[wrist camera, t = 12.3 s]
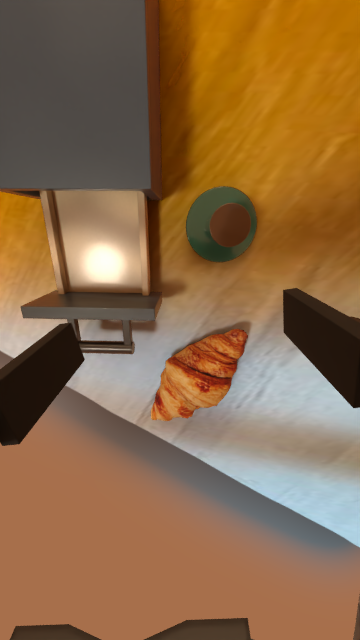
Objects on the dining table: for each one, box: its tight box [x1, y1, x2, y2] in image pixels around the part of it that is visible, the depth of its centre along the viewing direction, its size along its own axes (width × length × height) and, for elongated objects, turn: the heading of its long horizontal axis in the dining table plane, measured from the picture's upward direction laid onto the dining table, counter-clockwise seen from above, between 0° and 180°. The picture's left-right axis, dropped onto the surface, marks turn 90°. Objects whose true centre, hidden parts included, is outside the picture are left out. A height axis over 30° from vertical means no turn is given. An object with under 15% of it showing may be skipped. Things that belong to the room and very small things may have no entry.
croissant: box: [151, 329, 248, 421], centre depth 35 cm, size 21×10×8 cm, turn 142°
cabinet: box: [0, 0, 162, 200], centre depth 22 cm, size 18×15×9 cm
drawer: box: [21, 191, 162, 354], centre depth 27 cm, size 24×15×7 cm, turn 0°
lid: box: [186, 186, 257, 262], centre depth 26 cm, size 9×9×8 cm
